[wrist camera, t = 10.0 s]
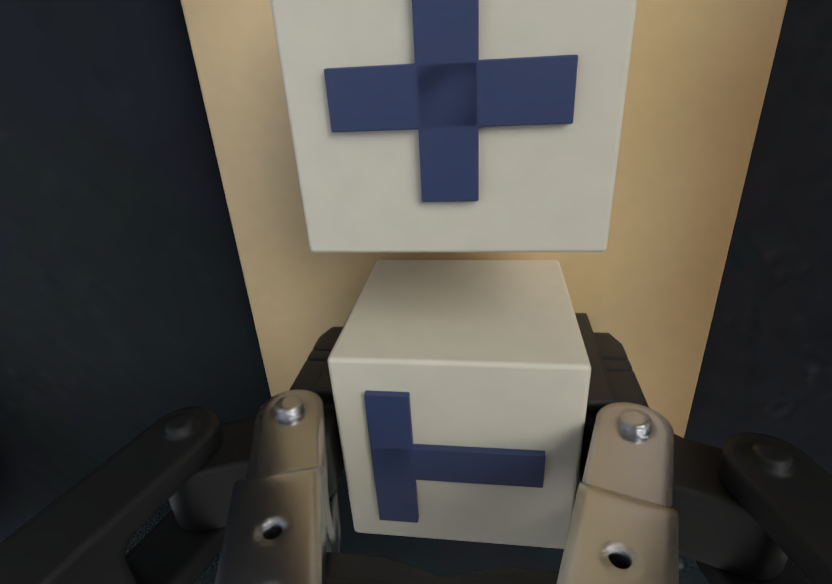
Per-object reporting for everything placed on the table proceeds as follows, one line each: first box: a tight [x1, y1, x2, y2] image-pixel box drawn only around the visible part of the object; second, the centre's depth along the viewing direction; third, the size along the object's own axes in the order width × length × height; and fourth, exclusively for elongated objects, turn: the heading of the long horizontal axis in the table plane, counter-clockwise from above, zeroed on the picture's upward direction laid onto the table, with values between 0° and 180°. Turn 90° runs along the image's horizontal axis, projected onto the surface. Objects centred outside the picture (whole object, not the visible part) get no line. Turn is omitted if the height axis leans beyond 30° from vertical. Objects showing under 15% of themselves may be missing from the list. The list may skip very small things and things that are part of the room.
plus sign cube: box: [270, 0, 637, 253], centre depth 9 cm, size 4×4×5 cm
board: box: [181, 0, 787, 438], centre depth 11 cm, size 12×20×1 cm, turn 3°
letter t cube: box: [327, 260, 591, 549], centre depth 11 cm, size 4×4×5 cm
